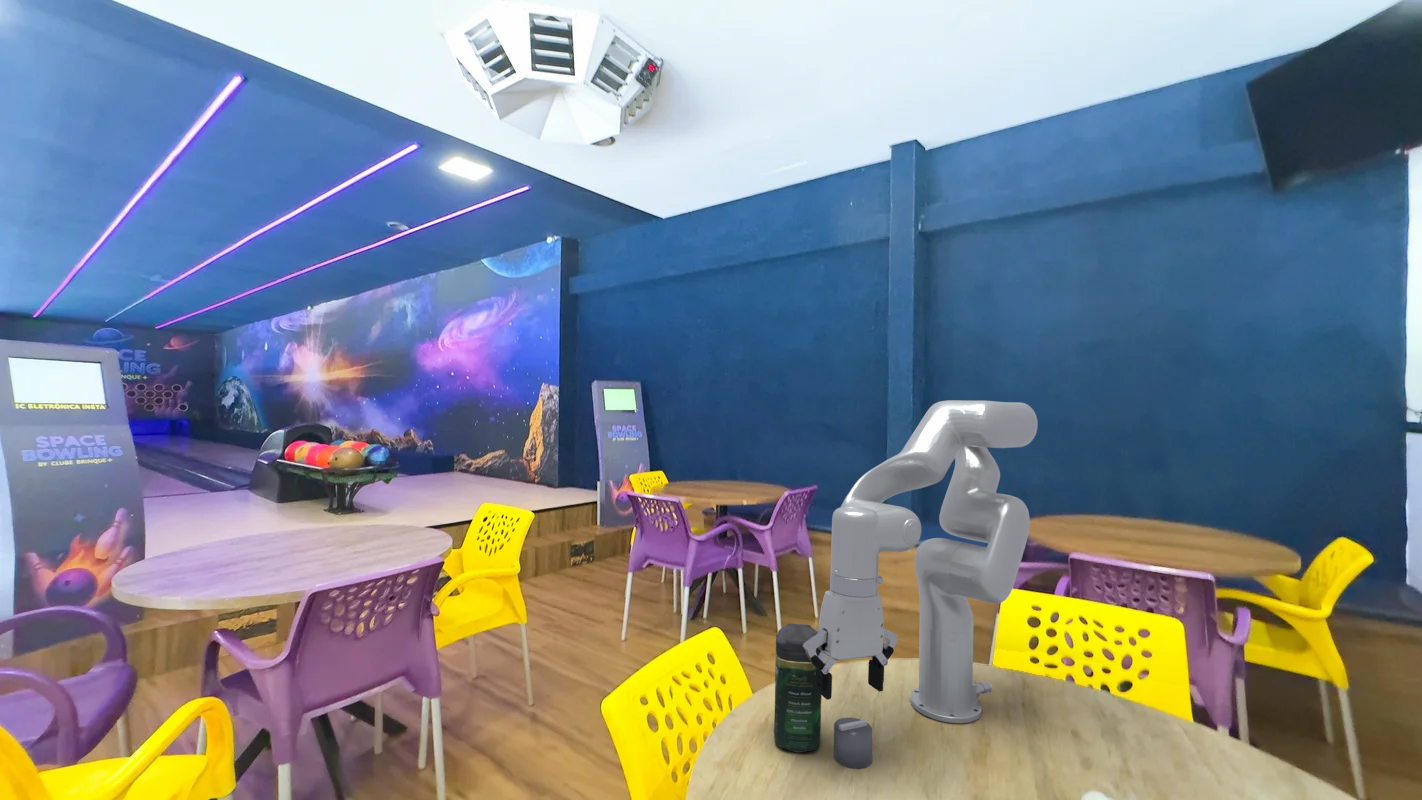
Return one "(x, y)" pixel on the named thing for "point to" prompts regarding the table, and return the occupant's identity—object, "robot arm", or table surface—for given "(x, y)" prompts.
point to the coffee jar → (796, 691)
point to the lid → (853, 743)
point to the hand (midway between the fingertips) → (850, 691)
